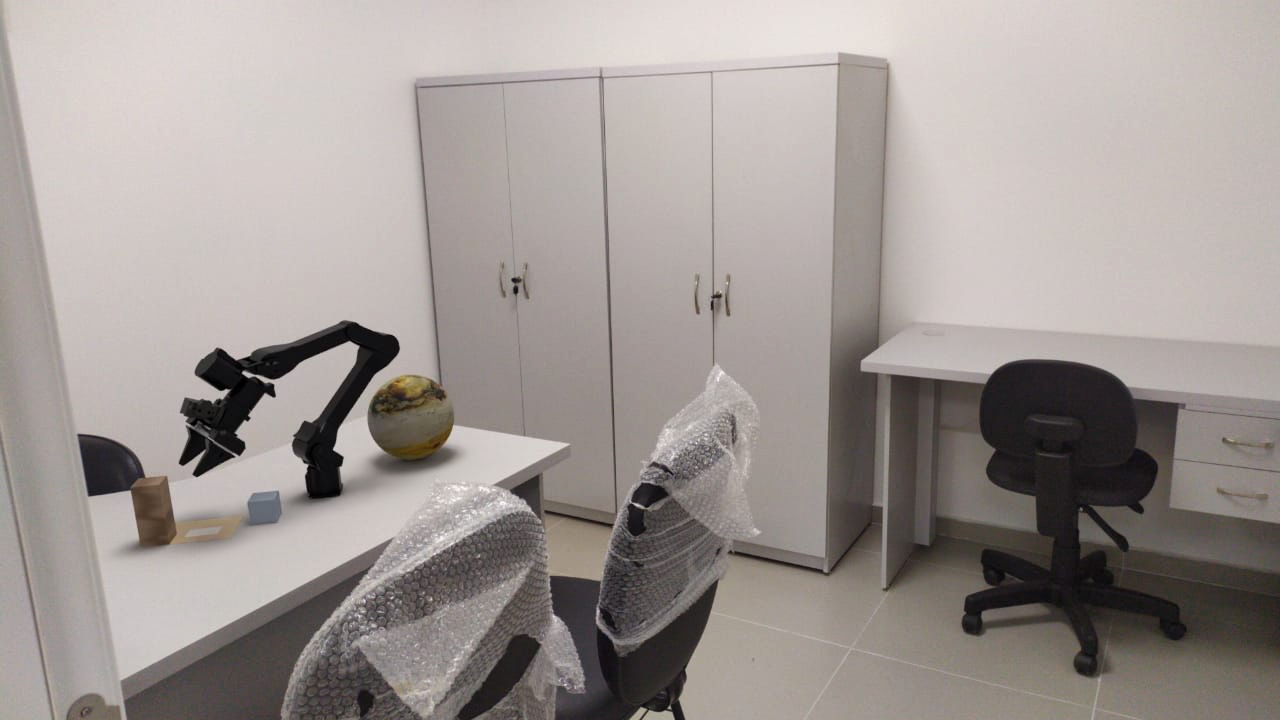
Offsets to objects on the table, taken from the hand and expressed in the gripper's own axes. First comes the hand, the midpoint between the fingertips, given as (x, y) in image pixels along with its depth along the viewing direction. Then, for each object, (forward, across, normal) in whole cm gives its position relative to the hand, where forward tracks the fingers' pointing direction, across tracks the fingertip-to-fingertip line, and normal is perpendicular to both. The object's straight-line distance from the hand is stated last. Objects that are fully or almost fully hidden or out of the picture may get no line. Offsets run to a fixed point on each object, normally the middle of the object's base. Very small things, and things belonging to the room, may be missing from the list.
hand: (187, 470), depth 178 cm
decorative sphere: (-27, -8, +45) cm, 53 cm away
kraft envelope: (+9, 0, +8) cm, 13 cm away
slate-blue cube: (0, +4, +17) cm, 18 cm away
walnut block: (+14, 0, +4) cm, 14 cm away
